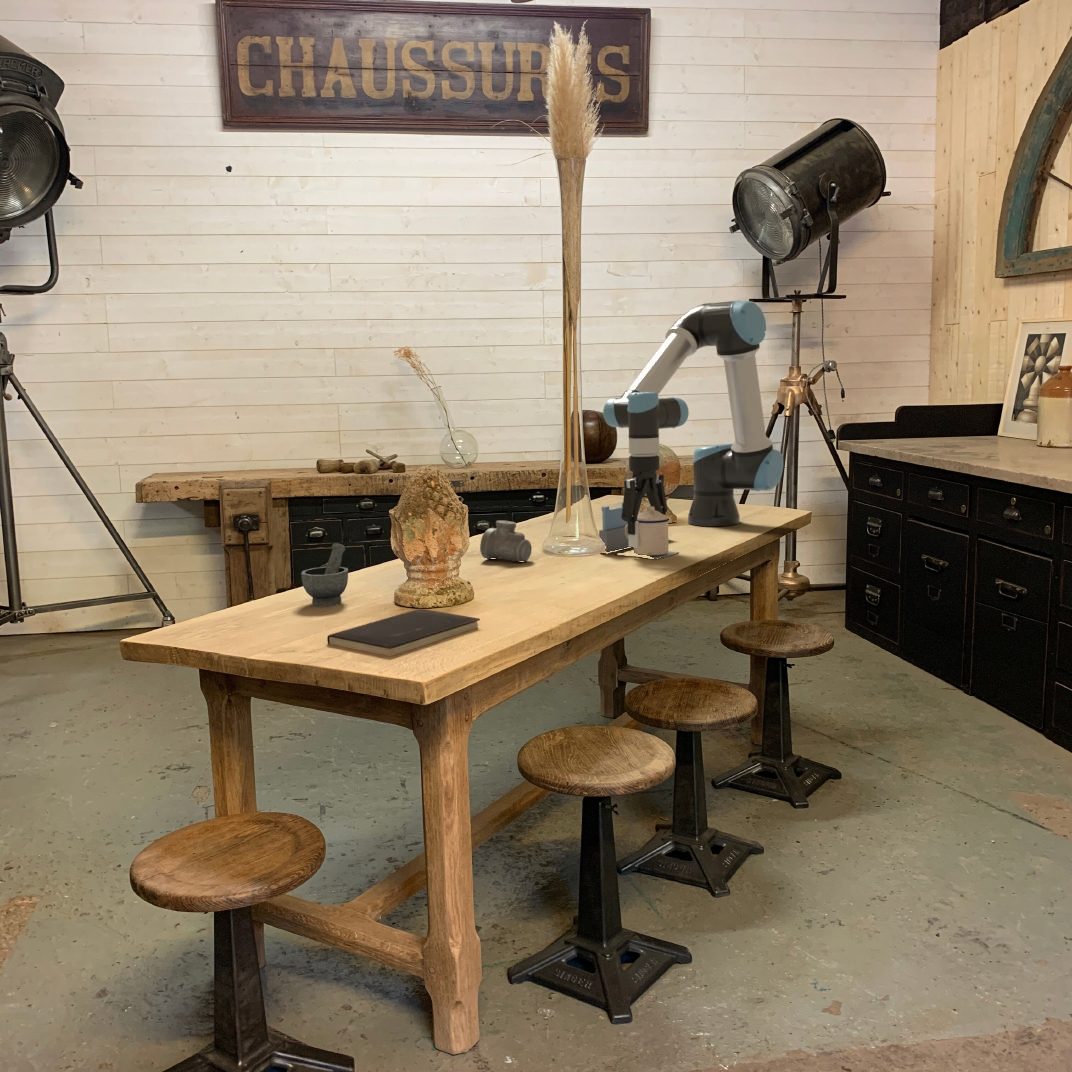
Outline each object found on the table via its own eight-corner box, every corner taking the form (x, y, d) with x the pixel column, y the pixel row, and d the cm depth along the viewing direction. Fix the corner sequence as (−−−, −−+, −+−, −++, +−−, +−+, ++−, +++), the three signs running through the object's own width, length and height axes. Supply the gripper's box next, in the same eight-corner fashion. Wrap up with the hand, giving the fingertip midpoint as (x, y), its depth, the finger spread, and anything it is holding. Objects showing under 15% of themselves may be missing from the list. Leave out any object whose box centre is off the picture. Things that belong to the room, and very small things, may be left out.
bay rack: (660, 538, 283) (660, 516, 282) (713, 543, 272) (713, 521, 271) (599, 553, 263) (599, 530, 262) (654, 560, 252) (654, 535, 251)
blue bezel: (625, 525, 270) (625, 502, 269) (629, 525, 269) (629, 502, 268) (602, 530, 262) (601, 506, 261) (605, 530, 261) (605, 507, 260)
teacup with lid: (676, 551, 260) (675, 505, 258) (658, 557, 252) (657, 509, 250) (634, 547, 267) (634, 502, 265) (616, 553, 259) (615, 507, 257)
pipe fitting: (476, 559, 257) (480, 519, 256) (496, 557, 264) (500, 517, 262) (514, 569, 251) (519, 528, 249) (534, 566, 257) (538, 526, 256)
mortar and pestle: (329, 610, 210) (325, 552, 208) (293, 606, 214) (289, 549, 212) (363, 598, 220) (360, 542, 218) (328, 595, 224) (324, 540, 222)
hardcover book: (480, 630, 192) (479, 618, 192) (390, 660, 174) (390, 647, 174) (418, 619, 202) (417, 608, 201) (327, 646, 184) (326, 634, 183)
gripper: (656, 450, 266) (658, 536, 270) (605, 458, 250) (607, 549, 254) (681, 451, 261) (682, 539, 265) (630, 459, 245) (631, 552, 249)
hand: (645, 544), depth 259 cm, fingers closed on teacup with lid, 9 cm apart
